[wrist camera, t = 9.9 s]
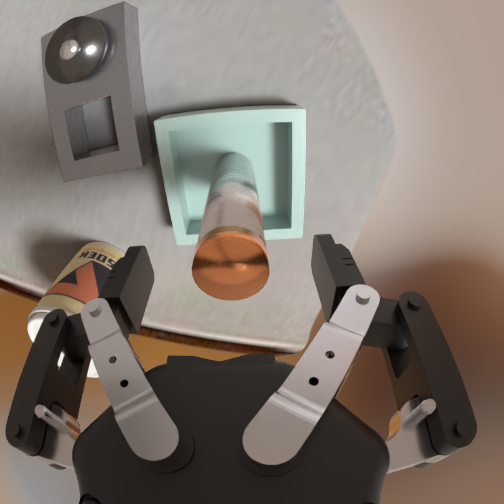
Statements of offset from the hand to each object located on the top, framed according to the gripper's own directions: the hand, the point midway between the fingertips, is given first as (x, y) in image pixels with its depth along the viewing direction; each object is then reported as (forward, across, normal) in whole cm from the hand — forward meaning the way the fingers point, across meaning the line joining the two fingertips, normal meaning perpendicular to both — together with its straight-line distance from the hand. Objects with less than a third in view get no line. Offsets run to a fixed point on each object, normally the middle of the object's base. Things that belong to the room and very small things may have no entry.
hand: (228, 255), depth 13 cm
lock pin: (+12, 0, 0) cm, 12 cm away
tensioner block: (+13, +11, -9) cm, 19 cm away
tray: (+13, 0, 0) cm, 13 cm away
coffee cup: (+13, +16, +10) cm, 23 cm away
